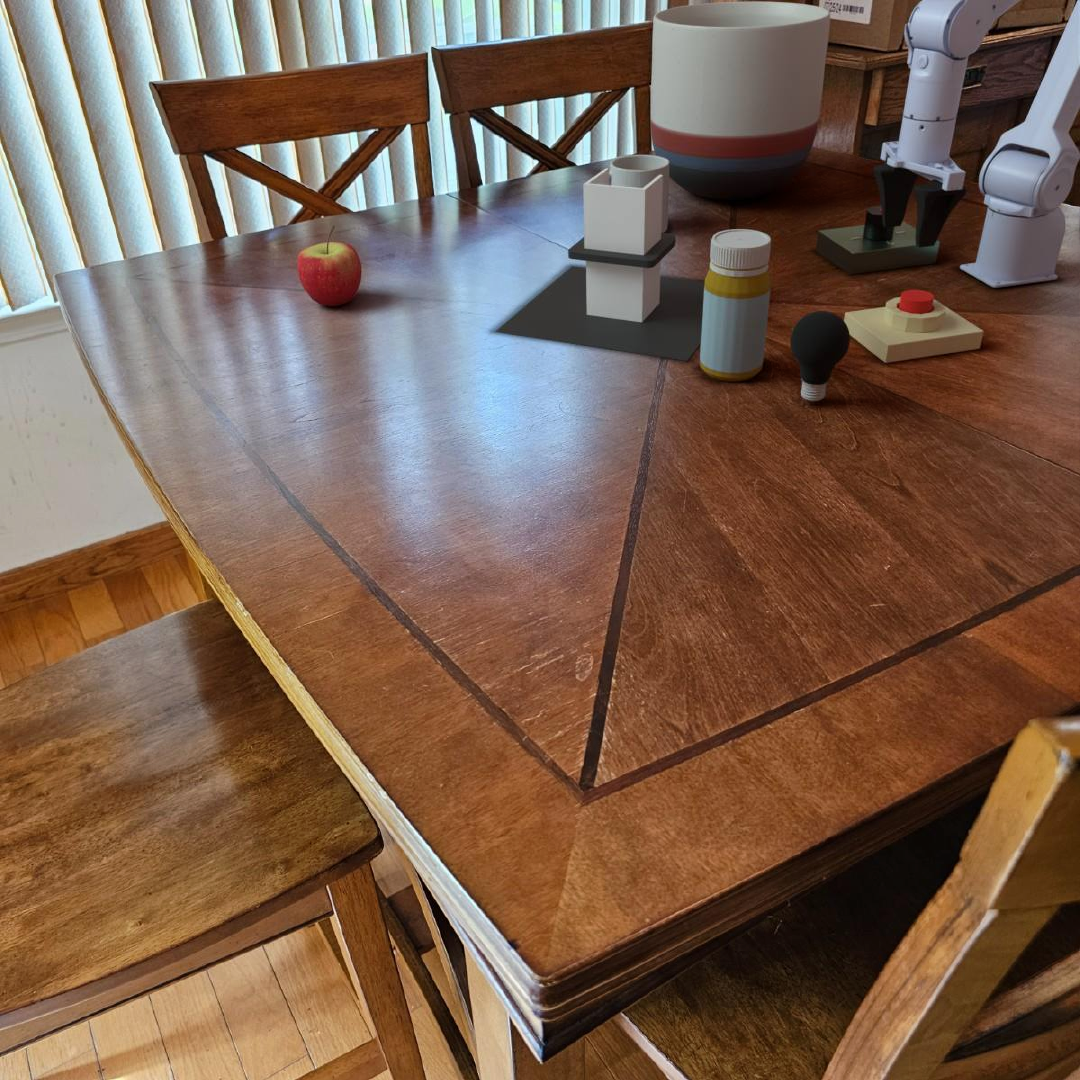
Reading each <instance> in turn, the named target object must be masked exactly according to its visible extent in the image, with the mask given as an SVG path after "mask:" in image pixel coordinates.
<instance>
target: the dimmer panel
mask: <svg viewBox="0 0 1080 1080" xmlns="http://www.w3.org/2000/svg"><path fill="white" fill-rule="evenodd" d="M864 225H865V224H861V225H853V226H846V227H836V228H830V229H829V228H828V229H821V230H818V231H817V239H816V247H815V252H816V253H817V254H819V255H821V257H823V258H825V259H826V260H827V261H829V262H830V263H832V264H834V265H835V266H836V267H838V268H839V269H841V270H842V271H843V272H845V273H846V274H848V275H849V276H850V275H859V274H865V273H866V274H867V273H873V272H881V271H888V270H896V269H903V268H910V267H917V266H924V265H931V264H932V265H933V264H937V259H938V254H939V248H940V244H941V241H939V240H937V241H936V243H935V245H934V246H928V247H917V246H916V239H915V237H916V227H914V226H913V225H910V224H908V223H907V222H905V221H903V222H902V224H901V226H897V227H895V228H894V234H893V237H892V238H891V239H888V240H872V239H868V238H865V237H864V236H863V232H864Z"/></svg>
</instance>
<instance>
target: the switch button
mask: <svg viewBox="0 0 1080 1080" xmlns="http://www.w3.org/2000/svg"><path fill="white" fill-rule="evenodd" d="M934 295H935V294H933V293H932V292H930V291H928V290H927V291H926V290H922V289H907V290H904V291H902V292H901V293H900V297H901V298H900V304H899V309H900V310H901V311H904V312H908V313H911V314H925V313H930V312H931V310H932V305H933V300H935V296H934Z"/></svg>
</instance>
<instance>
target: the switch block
mask: <svg viewBox="0 0 1080 1080" xmlns="http://www.w3.org/2000/svg"><path fill="white" fill-rule="evenodd" d="M900 298H901V296H899V297H893V298H891V299H889V300H887V301H886V302H885V306H880V307H873V308H868V309H867V308H866V309H860V310H854V311H846V312H845V313H844V318H843V321H844V322H845V323H846V325H847V327H848V330H849V333H850V337H852V338H853V339H854V340H856V341H857V342H858V343H859V344H860V345H862V346H863V347H864V348H866V349H867V350H868V351H869V352H871V353H872V354H873V355H874V356H876V357H877V358H878V359H879V360H881V361H882V362H883V363H885V364H888V363H894V362H901V361H907V360H914V359H915V360H916V359H920V358H927V357H933V356H940V355H946V354H953V353H959V352H966V351H973V350H979V349H980V348H981V345H982V344H981V343H982V340H983V336H984V330H983V329H981V328H979V327H978V326H977V325H975V324H974V323H972V322H970V321H969V320H967V319H966V318H964V317H963V316H961V315H960V314H958V313H956V312H955V311H953V310H952V309H951V308H949V307H947V306H945V305H944V304H942V303H941V302H939V301H938V300H936V299H934V300H933V305H932V310H931V312H930V313H925V314H911V313H908V312H904V311H901V310H900V309H899V304H900Z"/></svg>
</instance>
